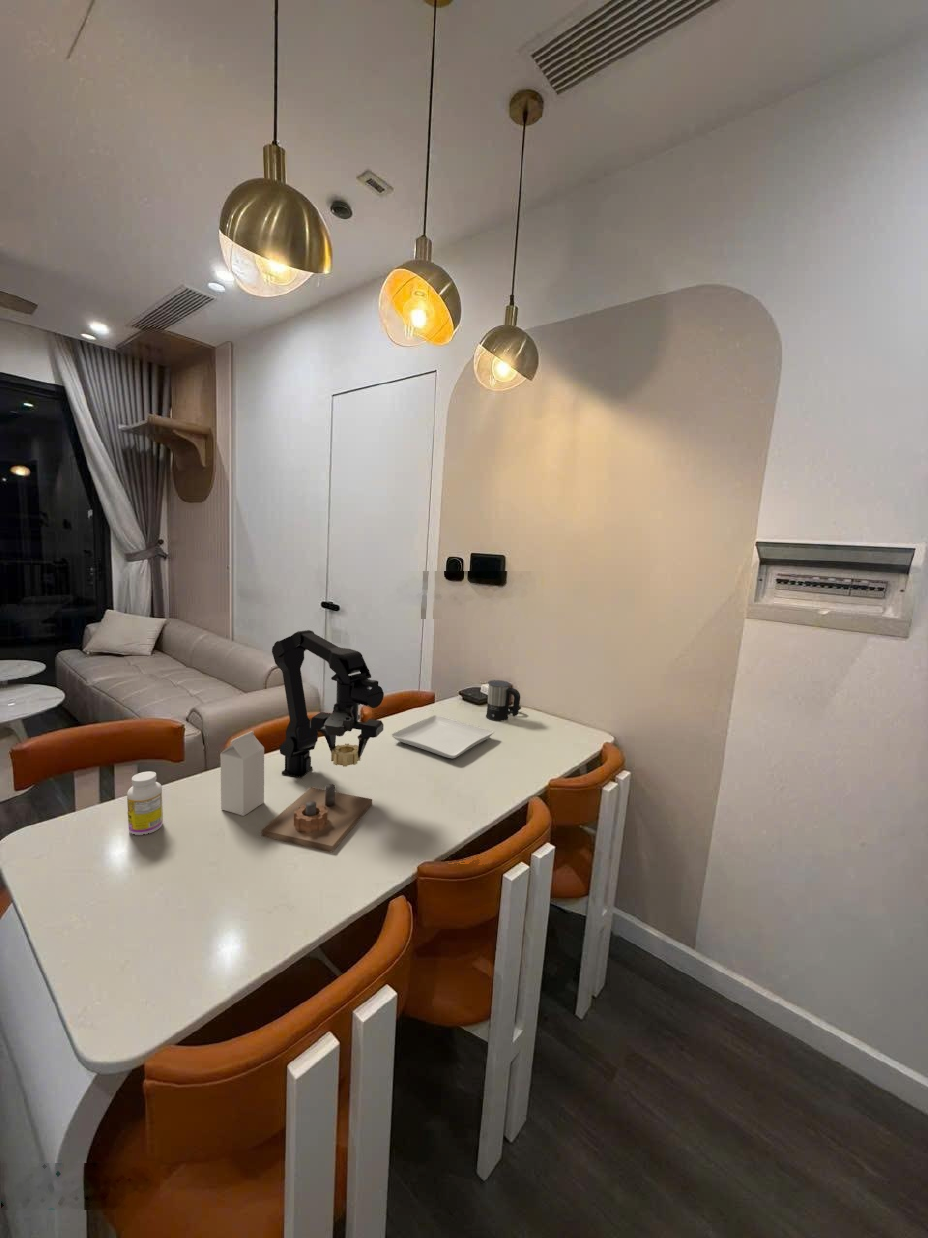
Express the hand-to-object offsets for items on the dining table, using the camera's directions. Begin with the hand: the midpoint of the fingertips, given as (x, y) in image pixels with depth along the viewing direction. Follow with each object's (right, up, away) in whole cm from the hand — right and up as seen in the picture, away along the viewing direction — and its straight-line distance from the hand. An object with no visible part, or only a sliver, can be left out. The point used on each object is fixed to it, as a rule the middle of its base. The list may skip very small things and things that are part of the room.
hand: (346, 754), depth 129 cm
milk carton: (-25, -11, -7) cm, 28 cm away
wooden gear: (0, -2, 0) cm, 2 cm away
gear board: (-4, -13, -10) cm, 17 cm away
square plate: (+24, -8, +42) cm, 49 cm away
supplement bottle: (-42, -12, -18) cm, 47 cm away
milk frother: (+48, -4, +72) cm, 87 cm away
